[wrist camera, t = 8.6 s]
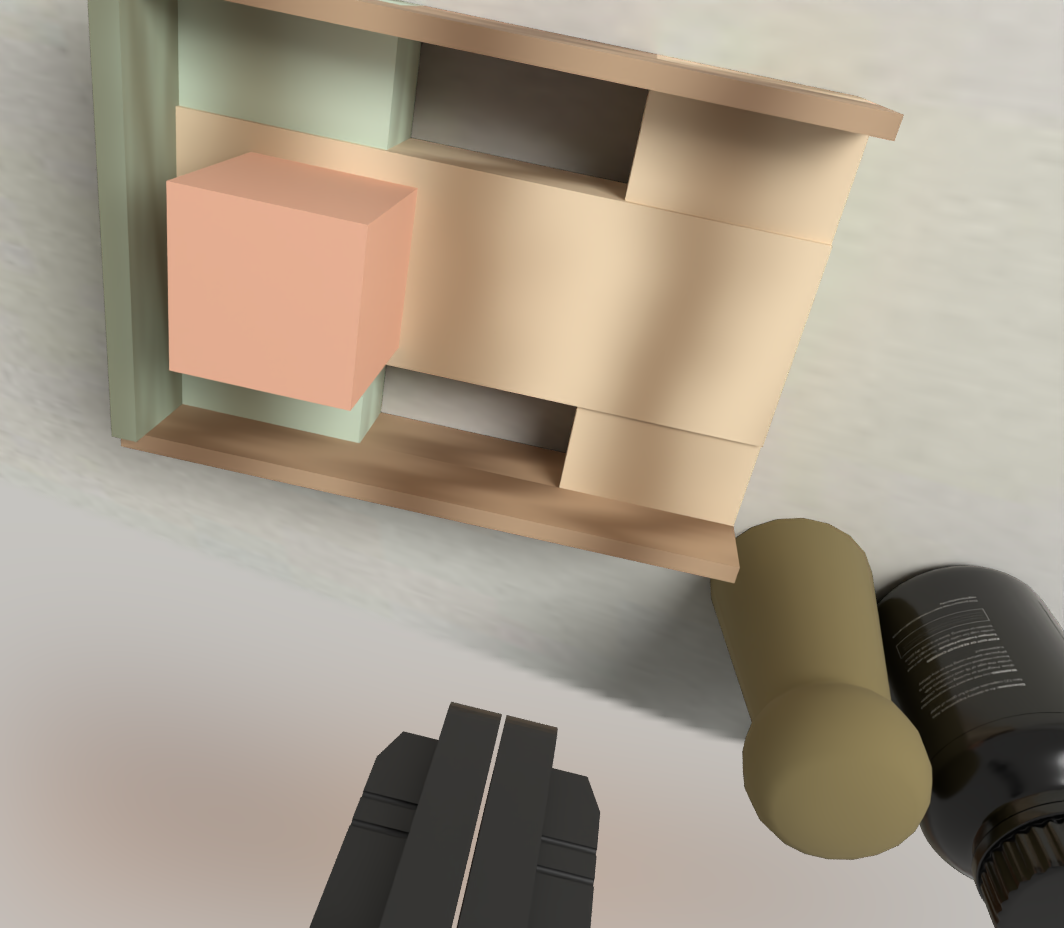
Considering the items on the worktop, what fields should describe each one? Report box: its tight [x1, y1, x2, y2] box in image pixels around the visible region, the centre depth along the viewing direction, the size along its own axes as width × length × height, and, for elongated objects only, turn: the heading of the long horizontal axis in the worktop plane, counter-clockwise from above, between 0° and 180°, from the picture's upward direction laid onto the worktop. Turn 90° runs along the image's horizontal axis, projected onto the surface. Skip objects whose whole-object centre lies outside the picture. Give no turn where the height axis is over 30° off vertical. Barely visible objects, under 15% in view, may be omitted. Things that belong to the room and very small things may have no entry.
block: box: [166, 152, 418, 411], centre depth 24 cm, size 5×5×5 cm
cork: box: [710, 518, 932, 860], centre depth 29 cm, size 6×6×11 cm
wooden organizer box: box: [88, 0, 904, 583], centre depth 26 cm, size 20×14×6 cm
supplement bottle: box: [877, 566, 1064, 928], centre depth 28 cm, size 7×7×12 cm
